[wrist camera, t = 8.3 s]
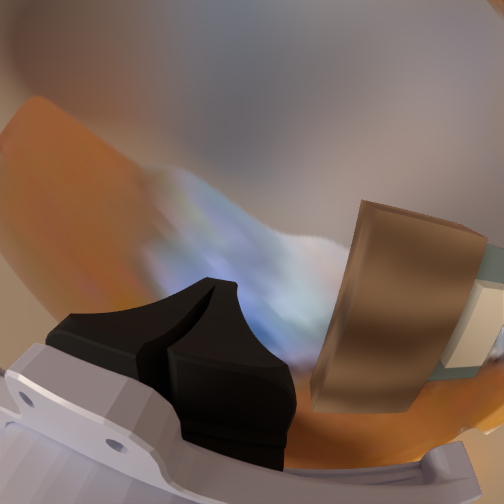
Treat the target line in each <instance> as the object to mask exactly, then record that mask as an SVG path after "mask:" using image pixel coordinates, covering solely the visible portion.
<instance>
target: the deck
mask: <svg viewBox="0 0 504 504" xmlns="http://www.w3.org/2000/svg"><path fill="white" fill-rule="evenodd" d="M487 241H488V238H486V237H484V236H483V235H481V234H479V233H477V232H475V231H473V230H471V229H469V228H467V227H465V226H463V225H460V224H457V223H453V222H450V221H446V220H443V219H439V218H435V217H432V216H428V215H424V214H420V213H416V212H412V211H408V210H404V209H400V208H396V207H392V206H387V205H383V204H378V203H374V202H370V201H364V200H361V204H360V209H359V214H358V219H357V223H356V228H355V232H354V237H353V241H352V245H351V249H350V253H349V257H348V261H347V265H346V269H345V273H344V277H343V280H342V284H341V288H340V291H339V295H338V298H337V302H336V305H335V309H334V312H333V315H332V319H331V322H330V325H329V328H328V331H327V334H326V338H325V341H324V344H323V347H322V350H321V353H320V355H319V358H318V361H317V364H316V367H315V370H314V372H313V375H312V378H311V381H310V390H311V404H312V412H321V413H348V414H373V413H399V412H407V410H408V409H409V407H410V406H411V405H412V403H413V402H414V400H415V399H416V397H417V395H418V394H419V392H420V391H421V389H422V388H423V386H424V384H425V383H426V381H427V380H428V378H429V376H430V375H431V373H432V371H433V369H434V368H435V366H436V364H437V362H438V360H439V359H440V357H441V355H442V353H443V351H444V349H445V347H446V345H447V343H448V342H449V340H450V338H451V335H452V333H453V331H454V329H455V327H456V325H457V323H458V321H459V318H460V316H461V314H462V312H463V309H464V307H465V304H466V302H467V300H468V297H469V295H470V292H471V289H472V287H473V284H474V281H475V279H476V276H477V273H478V270H479V267H480V264H481V261H482V258H483V255H484V251H485V248H486V244H487Z"/></svg>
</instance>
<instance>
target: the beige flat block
mask: <svg viewBox="0 0 504 504" xmlns="http://www.w3.org/2000/svg"><path fill="white" fill-rule="evenodd" d="M503 324H504V284H502V283H496V282H491V281H485V280H479V279H475V281H474V284H473V287H472V289H471V292H470V295H469V297H468V300H467V302H466V304H465V307H464V309H463V312H462V314H461V316H460V318H459V321H458V323H457V325H456V327H455V329H454V331H453V333H452V335H451V338H450V340H449V342H448V343H447V345H446V347H445V349H444V351H443V353H442V355H441V357H440V361H441V362H442V364H443V366H444V367H445V368H456V367H471V366H482V364H483V362H484V361H485V359H486V357H487V355H488V354H489V352H490V350H491V348H492V346H493V344H494V342H495V341H496V339H497V337H498V335H499V333H500V331H501V329H502V326H503Z"/></svg>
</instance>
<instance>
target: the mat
mask: <svg viewBox="0 0 504 504" xmlns="http://www.w3.org/2000/svg"><path fill="white" fill-rule="evenodd" d="M476 279H479V280H485V281H491V282H496V283H502V284H504V249H503V248H500V247H496V246H493V245H489V244H486V248H485V251H484V255H483V258H482V261H481V264H480V267H479V270H478V273H477V276H476ZM503 325H504V324H503ZM502 327H503V326H502ZM494 343H495V342H494ZM493 345H494V344H493ZM492 347H493V346H492ZM487 356H488V355H487ZM483 363H484V362H483ZM480 368H481V366H471V367H456V368H445V367H444V366H443V364H442V362H441V361H440V359H439V360H438V362H437V364H436V366H435V368H434V369H433V371H432V373H431V375H430V376H429V378H428V380H427V381H432V380H449V379H461V378H472V377H475V376H476V374H477V373H478V371H479V369H480Z"/></svg>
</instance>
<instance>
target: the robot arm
mask: <svg viewBox="0 0 504 504" xmlns="http://www.w3.org/2000/svg"><path fill="white" fill-rule="evenodd" d="M237 287H238V285H237V283H236V282H232V281H226V280H220V279H214V278H209V277H206V278H204V279H202V280H200V281H198V282H196V283H195V284H193V285H191V286H189V287H187V288H186V289H184V290H182V291H180V292H178V293H176V294H173V295H171V296H169V297H167V298H165V299H162V300H160V301H157V302H154V303H151V304H148V305H145V306H141V307H137V308H132V309H128V310H123V311H117V312H109V313H96V314H73V313H71V314H70V315H68V316H67V317H66V318H65V319H64V320H63V321H62V322H61V323H60V324H58V325H57V326H56V327H55V328H54V329H53V330H52V331H51V332H50V333H49V334H48V336H47V338H46V344H45V345H43V344H38V343H34V344H33V345H32V346H31V347H30V348H29V349H28V350H27V351H26V352H25V353H24V354H23V355H22V356H21V357H20V358H19V359H18V360H17V361H16V362H15V363H14V364H13V365H12V366H11V367H10V368H9V369H8V370H7V371H5V370H3V369H2V368H0V504H472V503H473V502H474V501H476V500H477V499H479V498H480V497H481V496H482V492H481V489H480V486H479V483H478V481H477V478H476V475H475V472H474V470H473V467H472V464H471V462H470V459H469V457H468V454H467V452H466V449H465V447H464V445H463V443H462V441H457V442H453V443H449V444H444V445H440V446H437V447H434V448H433V449H431V450H429V451H428V452H427V453H426V454H425V455H424V456H423V457H422V459H421V460H420V461H416V462H410V463H404V464H397V465H389V466H381V467H370V468H357V469H291V468H284V448H285V447H286V444H287V432H288V430H289V427H290V425H291V422H292V420H293V418H294V415H295V412H296V406H297V401H296V393H295V388H294V384H293V380H292V377H291V373H290V370H289V368H288V365H287V364H286V363H285V362H283V361H282V360H280V359H279V358H277V357H276V356H275V355H273V354H272V353H271V352H270V351H268V350H267V349H266V348H265V347H264V346H263V345H262V344H261V343H260V341H259V340H258V339H257V338H256V337H255V335H254V334H253V332H252V331H251V329H250V328H249V326H248V324H247V322H246V320H245V318H244V316H243V314H242V311H241V308H240V305H239V301H238V297H237Z"/></svg>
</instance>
